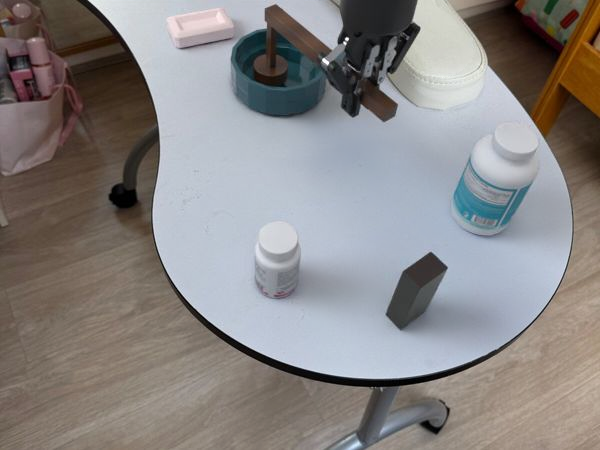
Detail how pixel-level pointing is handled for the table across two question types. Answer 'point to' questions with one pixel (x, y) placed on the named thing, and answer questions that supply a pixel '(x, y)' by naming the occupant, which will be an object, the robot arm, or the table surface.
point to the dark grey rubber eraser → (415, 290)
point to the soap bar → (200, 27)
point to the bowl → (282, 99)
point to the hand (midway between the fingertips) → (357, 108)
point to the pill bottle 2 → (496, 179)
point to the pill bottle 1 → (277, 259)
